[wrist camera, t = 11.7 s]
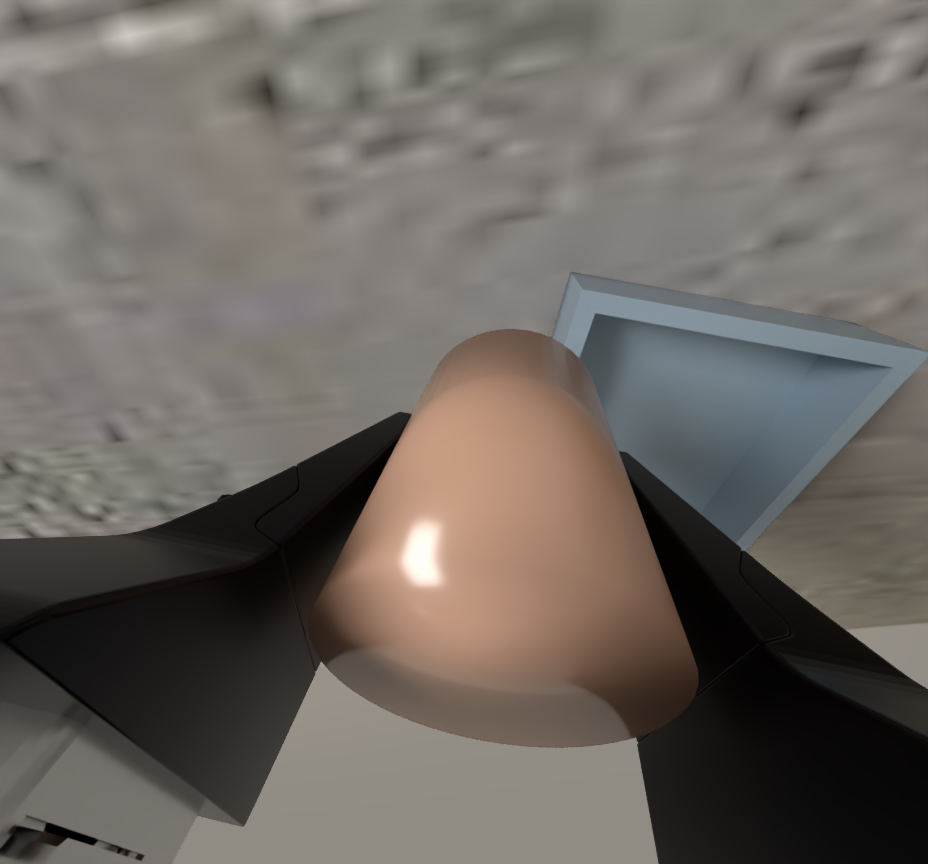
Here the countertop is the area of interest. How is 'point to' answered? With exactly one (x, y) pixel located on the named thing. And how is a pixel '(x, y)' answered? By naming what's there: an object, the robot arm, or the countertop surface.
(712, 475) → the tote
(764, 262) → the countertop surface
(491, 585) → the brown egg
